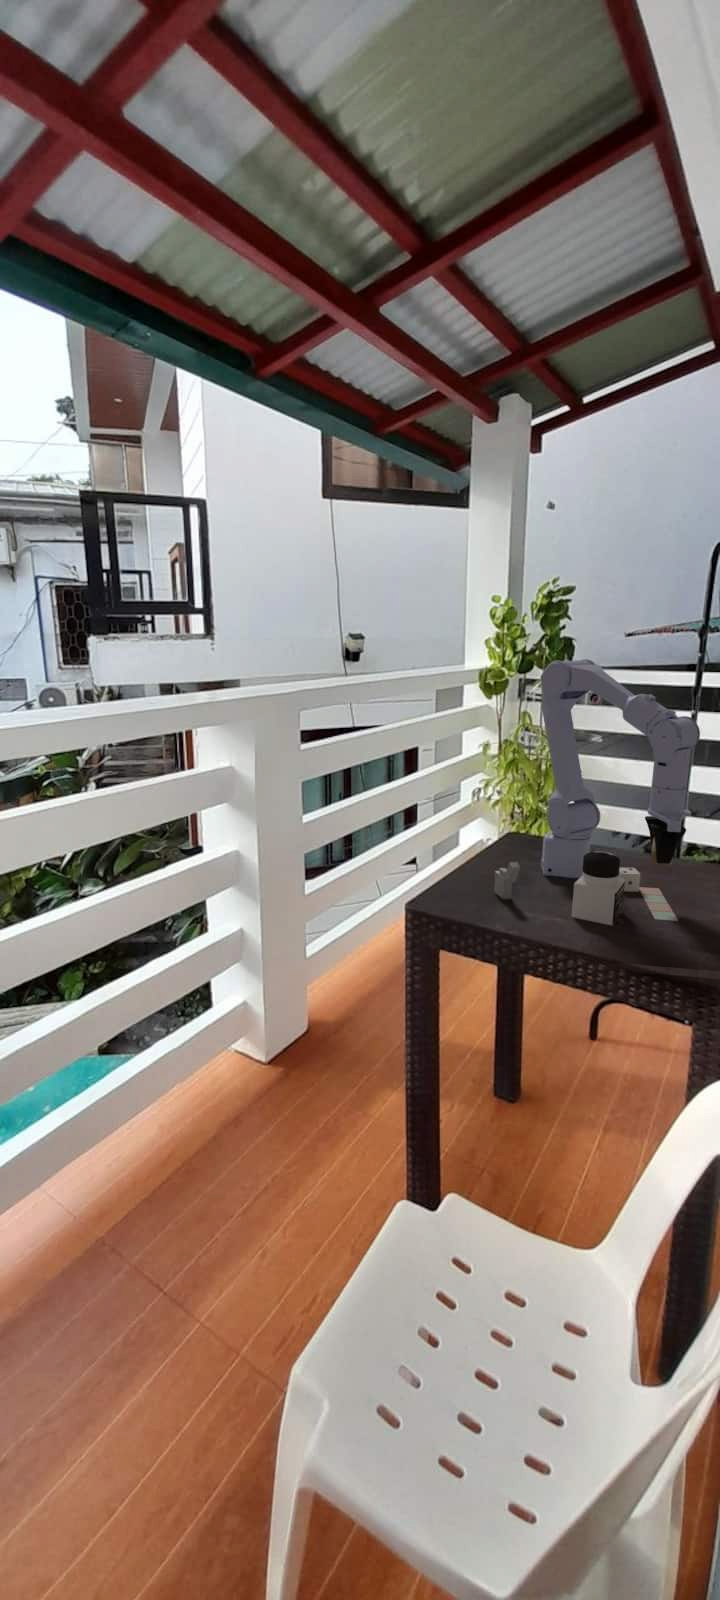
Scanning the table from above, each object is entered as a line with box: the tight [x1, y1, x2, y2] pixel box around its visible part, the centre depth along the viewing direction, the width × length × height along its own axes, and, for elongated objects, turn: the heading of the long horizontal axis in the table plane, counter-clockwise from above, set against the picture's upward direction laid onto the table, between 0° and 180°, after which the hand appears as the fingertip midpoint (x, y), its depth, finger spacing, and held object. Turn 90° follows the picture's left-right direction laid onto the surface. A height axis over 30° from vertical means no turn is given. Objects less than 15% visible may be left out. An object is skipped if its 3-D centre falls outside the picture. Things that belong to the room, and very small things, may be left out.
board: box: [639, 886, 679, 922], centre depth 129 cm, size 8×19×1 cm, turn 169°
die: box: [619, 867, 641, 893], centre depth 136 cm, size 4×4×4 cm
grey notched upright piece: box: [493, 861, 521, 900], centre depth 133 cm, size 7×2×8 cm, turn 14°
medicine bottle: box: [571, 850, 625, 926], centre depth 122 cm, size 7×7×12 cm
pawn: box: [650, 837, 672, 867], centre depth 126 cm, size 3×3×7 cm
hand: (660, 859), depth 127 cm, fingers closed on pawn, 3 cm apart
